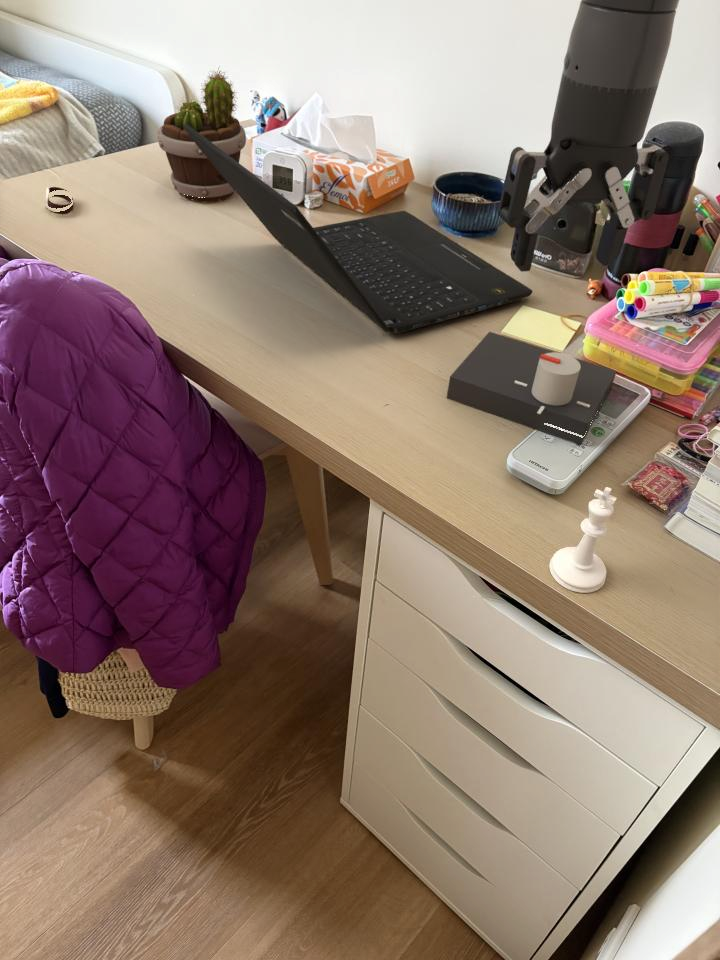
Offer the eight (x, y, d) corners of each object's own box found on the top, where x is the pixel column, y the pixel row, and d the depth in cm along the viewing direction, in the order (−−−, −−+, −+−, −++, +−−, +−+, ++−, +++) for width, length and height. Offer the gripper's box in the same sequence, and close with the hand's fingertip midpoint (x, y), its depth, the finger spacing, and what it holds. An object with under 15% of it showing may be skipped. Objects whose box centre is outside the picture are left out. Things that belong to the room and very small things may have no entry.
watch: (45, 201, 120) (40, 179, 118) (75, 199, 122) (70, 177, 119) (45, 219, 115) (39, 196, 113) (76, 216, 116) (71, 194, 114)
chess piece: (562, 543, 66) (590, 461, 60) (613, 567, 64) (648, 485, 57) (540, 575, 63) (566, 492, 56) (592, 602, 61) (626, 519, 54)
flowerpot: (157, 207, 121) (138, 74, 107) (174, 175, 132) (158, 52, 119) (243, 211, 121) (235, 79, 108) (253, 179, 132) (246, 56, 119)
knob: (576, 390, 80) (586, 357, 77) (564, 410, 77) (574, 376, 74) (539, 378, 81) (547, 345, 78) (525, 397, 78) (534, 364, 75)
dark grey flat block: (609, 391, 85) (617, 369, 83) (577, 451, 76) (584, 428, 74) (485, 352, 91) (489, 330, 89) (441, 403, 82) (445, 380, 80)
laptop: (533, 303, 101) (565, 160, 88) (295, 369, 86) (293, 208, 73) (404, 218, 122) (415, 92, 109) (195, 258, 107) (178, 118, 94)
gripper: (549, 85, 52) (508, 289, 63) (717, 83, 55) (650, 278, 66) (509, 61, 58) (478, 252, 69) (664, 60, 61) (611, 244, 72)
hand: (563, 265), depth 67 cm, fingers open, 8 cm apart
